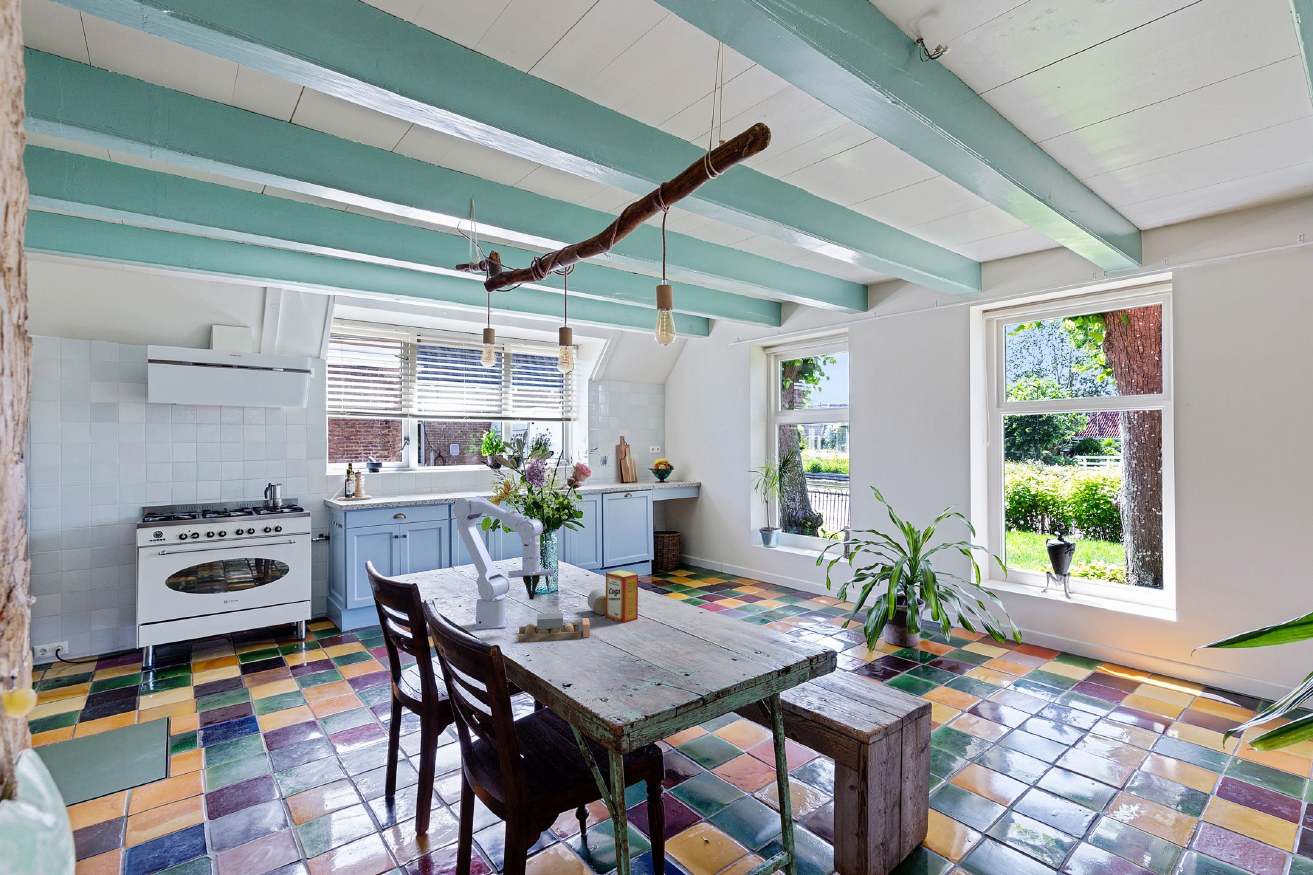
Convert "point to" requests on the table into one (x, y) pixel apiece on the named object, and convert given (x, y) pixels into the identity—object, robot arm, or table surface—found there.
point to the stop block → (585, 627)
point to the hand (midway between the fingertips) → (531, 598)
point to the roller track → (546, 633)
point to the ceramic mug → (597, 601)
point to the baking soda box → (622, 596)
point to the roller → (568, 627)
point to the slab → (549, 620)
